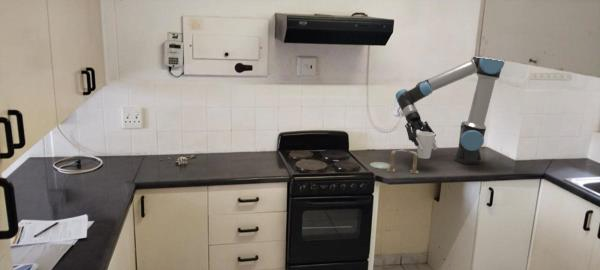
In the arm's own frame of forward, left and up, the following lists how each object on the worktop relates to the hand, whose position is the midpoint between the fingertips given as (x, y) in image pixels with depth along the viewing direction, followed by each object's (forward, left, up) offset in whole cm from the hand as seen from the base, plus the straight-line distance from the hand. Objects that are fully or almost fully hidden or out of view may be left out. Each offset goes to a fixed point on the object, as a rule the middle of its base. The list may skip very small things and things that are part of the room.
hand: (428, 149), depth 260 cm
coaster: (+24, -4, -12) cm, 27 cm away
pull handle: (+13, +2, -12) cm, 18 cm away
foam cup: (+2, -3, -5) cm, 6 cm away
